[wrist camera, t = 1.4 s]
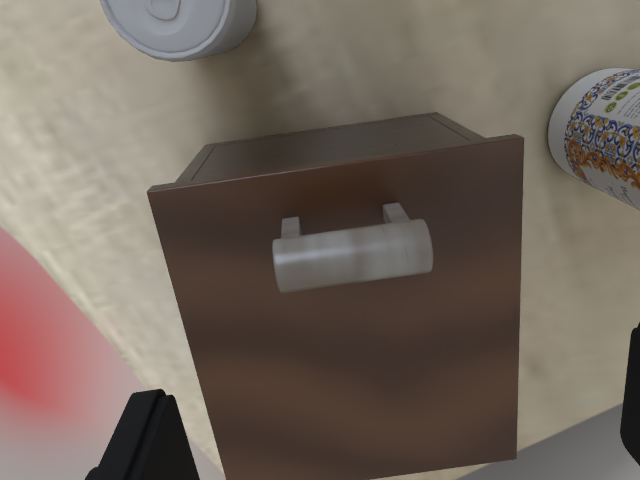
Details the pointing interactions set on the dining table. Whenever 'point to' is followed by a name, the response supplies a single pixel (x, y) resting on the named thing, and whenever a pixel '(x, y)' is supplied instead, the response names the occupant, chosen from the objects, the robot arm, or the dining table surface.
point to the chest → (325, 145)
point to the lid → (354, 309)
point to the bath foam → (601, 132)
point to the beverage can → (181, 25)
